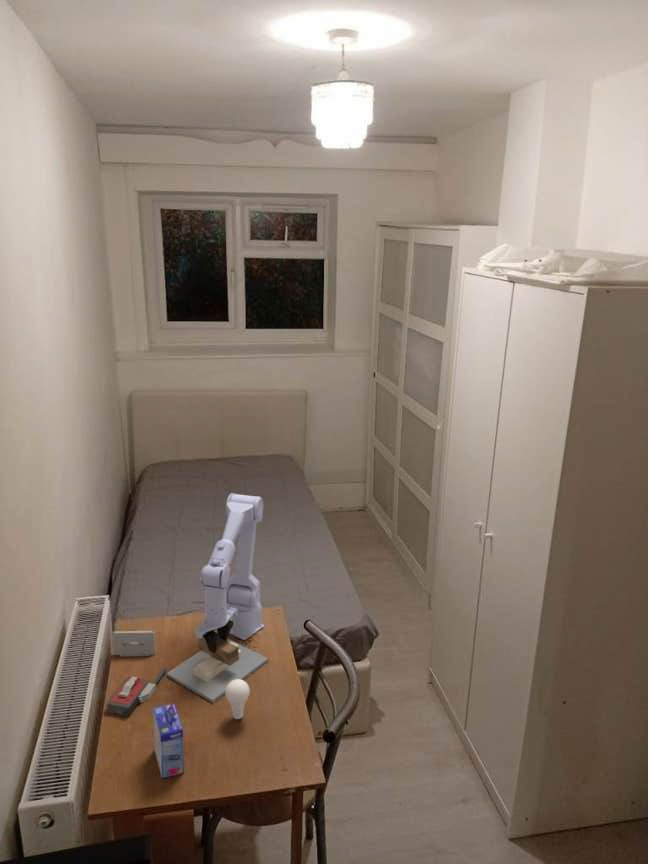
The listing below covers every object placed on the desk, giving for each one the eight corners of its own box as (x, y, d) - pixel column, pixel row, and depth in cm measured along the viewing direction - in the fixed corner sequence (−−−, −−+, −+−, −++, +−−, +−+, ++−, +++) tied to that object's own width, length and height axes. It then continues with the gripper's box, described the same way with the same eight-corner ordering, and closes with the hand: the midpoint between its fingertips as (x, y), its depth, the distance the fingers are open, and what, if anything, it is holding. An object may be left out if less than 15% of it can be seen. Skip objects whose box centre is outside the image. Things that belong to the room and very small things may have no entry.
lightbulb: (240, 706, 172) (239, 670, 169) (255, 718, 168) (254, 682, 165) (221, 717, 168) (220, 681, 165) (235, 730, 164) (234, 693, 161)
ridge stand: (222, 638, 200) (222, 625, 199) (267, 661, 190) (267, 648, 189) (167, 676, 183) (166, 662, 182) (213, 703, 173) (212, 689, 172)
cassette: (113, 657, 191) (111, 634, 189) (115, 653, 193) (112, 630, 191) (155, 656, 192) (153, 633, 190) (156, 652, 194) (154, 629, 191)
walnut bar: (238, 659, 183) (238, 647, 182) (229, 666, 180) (229, 653, 179) (208, 643, 190) (207, 631, 189) (199, 649, 187) (198, 637, 186)
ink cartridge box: (186, 773, 151) (183, 721, 147) (161, 780, 149) (158, 727, 145) (177, 743, 160) (174, 693, 155) (154, 749, 158) (150, 699, 153)
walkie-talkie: (134, 722, 167) (169, 672, 185) (133, 707, 165) (168, 659, 184) (103, 716, 169) (140, 667, 187) (101, 701, 167) (139, 654, 186)
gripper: (224, 589, 188) (225, 630, 193) (186, 612, 177) (188, 655, 181) (242, 597, 185) (243, 639, 189) (204, 621, 173) (206, 665, 177)
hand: (217, 647), depth 185 cm, fingers closed on walnut bar, 3 cm apart
